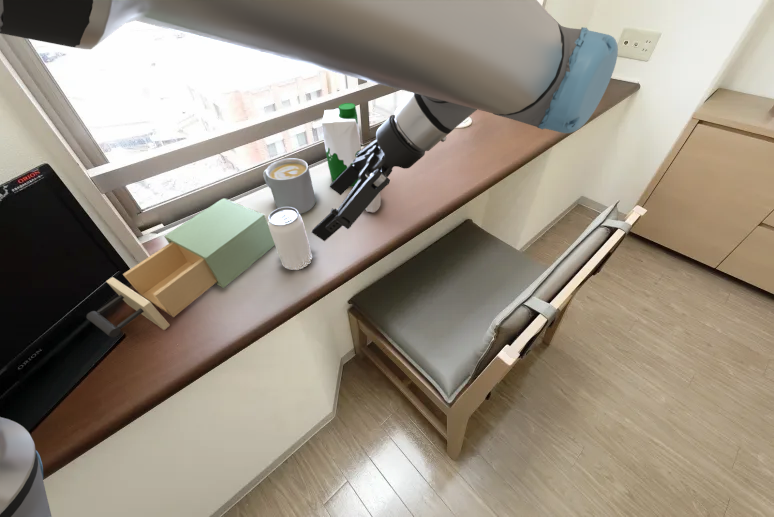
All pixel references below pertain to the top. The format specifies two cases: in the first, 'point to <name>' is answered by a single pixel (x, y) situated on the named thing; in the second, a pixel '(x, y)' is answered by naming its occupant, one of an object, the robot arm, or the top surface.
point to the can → (290, 238)
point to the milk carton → (341, 138)
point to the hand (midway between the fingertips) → (327, 211)
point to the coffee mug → (291, 184)
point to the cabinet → (225, 238)
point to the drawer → (158, 287)
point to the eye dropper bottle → (374, 204)
